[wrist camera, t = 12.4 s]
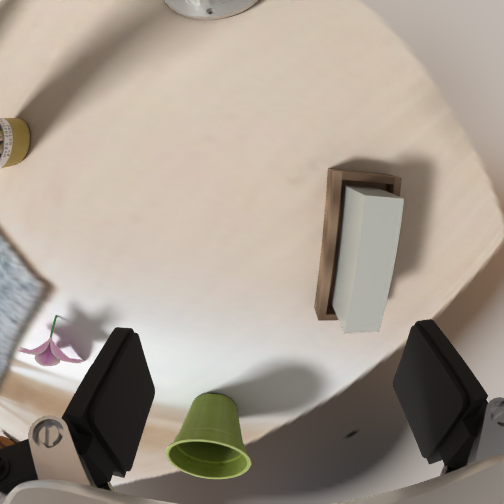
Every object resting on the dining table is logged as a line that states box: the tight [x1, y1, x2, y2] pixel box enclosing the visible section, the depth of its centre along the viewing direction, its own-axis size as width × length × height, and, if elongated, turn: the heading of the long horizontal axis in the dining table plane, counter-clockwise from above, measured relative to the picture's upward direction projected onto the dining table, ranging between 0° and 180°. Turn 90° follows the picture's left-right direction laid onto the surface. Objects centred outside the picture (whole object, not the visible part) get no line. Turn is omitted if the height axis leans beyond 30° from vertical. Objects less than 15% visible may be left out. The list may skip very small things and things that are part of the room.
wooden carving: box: [0, 436, 16, 449], centre depth 55 cm, size 16×5×10 cm, turn 54°
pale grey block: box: [330, 185, 404, 333], centre depth 30 cm, size 14×4×7 cm, turn 179°
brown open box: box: [314, 169, 401, 320], centre depth 33 cm, size 17×8×3 cm, turn 179°
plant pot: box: [166, 393, 251, 479], centre depth 39 cm, size 12×12×11 cm
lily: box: [15, 316, 86, 366], centre depth 37 cm, size 12×12×10 cm
